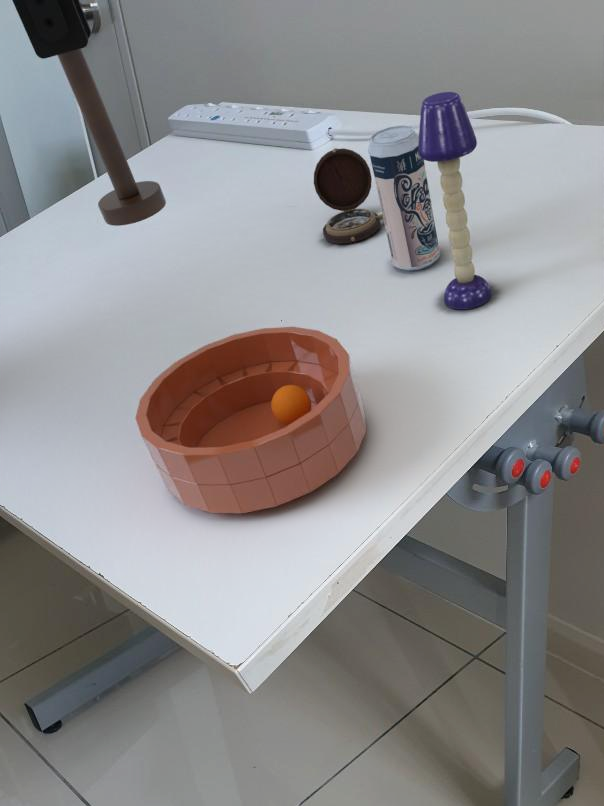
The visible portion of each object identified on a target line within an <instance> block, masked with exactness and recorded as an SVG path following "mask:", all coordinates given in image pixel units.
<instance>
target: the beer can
mask: <svg viewBox="0 0 604 806" xmlns="http://www.w3.org/2000/svg"><path fill="white" fill-rule="evenodd" d="M418 144H419V134H417V132H416V130H415V129H414V128H413V126H409V125H395V126H388V127H386V128H382V129H381V130H378V131H376V132H375V133H373V134H372V135H371V136H370V140H369V145H368V148H367V153H368V155H369V158H370V163H371V168H372V173H373V176H374V177H373V178H374V181H375V186H376V191H377V197H378V199H379V204H380V209H381V214H383V219H384V220H383V223H384V228H385V232H386V238H387V243H388V247H389V251H390V257H391V264H392V265H393V266H394V267H395V268H397V269H399V270H402V271H408V272H414V271H420V270H424V269H426V268H428V267H430V266H432V264H434V262H436V261H438V259H439V258H440V256H441V250H440V245H439V244H440V243H439V239H438V234H437V228H436V221H435V217H434V211H433V205H432V200H431V193H430V188H429V183H428V177H427V169H426V164H425V160H423V159H422V158H421V157H420V156H419V152H418Z"/></svg>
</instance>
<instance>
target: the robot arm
mask: <svg viewBox="0 0 604 806" xmlns="http://www.w3.org/2000/svg"><path fill="white" fill-rule="evenodd" d="M11 1H12V3H13V5H14V8H15V10H16V12H17V14H18V16H19V19H20V21H21V23H22V26H23V28H24V31H25V33H26V34H27V37H28V39H29V42H30V44H31V46H32V49H33V51H34V53H35V55H36V56H37V57H38V58H40V59H42V60H45V59H48V58H52V57H56V56H57V55H60V54H63V53H67V52H70V51H74V50H78V49H84V48H86V47H87V46H88V43H89V39H90V37H91V34H92V30H91V27H90V24H89V22H88V20H87V17H86V14H85V12H84V10H83V7H82V5H81V2H80V0H11Z"/></svg>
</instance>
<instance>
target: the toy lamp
mask: <svg viewBox="0 0 604 806" xmlns="http://www.w3.org/2000/svg"><path fill="white" fill-rule="evenodd" d="M419 120H420V121H419V130H418V136H419V144H418V152H419V156H420V157H421V158H422V159H423V160H424V161H427V162H431V163H434V162H435V163H437V168H438V170H439V172H440V179H439V181H440V188H441V189H442V191H443V195H442V196H443V197H442V202H443V203H442V204H443V207H444V209H445V210H446V212H445V222H446V223H445V224H446V225H447V228H448V229H449V230H448V240H449V241H448V242H449V243H450V245H451V259H452V262H453V263H454V269H453V272H454V276H455V277H454V278H453V279H452V280H450V281H449V283H448V284H447V286H446V288H445V290H444V296H443V301H444V304H445V306H446V307H448V308H450V309H453V310H470V309H475V308H478V307H479V306H482V305H484V304H485V303H488V301H489V300H490V299H491V297H492V295H493V292H492V289H491V286H490V284H489V282H488V281H487V279H485V278H483V277H482V276H480V275H478V274H475V273H476V269H475V265H474V263H473V261H472V260H473V249H472V246H471V244H470V241H471V233H470V232H471V231H470V230H469V228H468V226H467V225H468V213H467V211H466V209H465V203H466V199H465V193H464V191H463V190H462V188H463V176H462V173H461V172H460V167H461V159H460V158H462V157H465V156H468V155H470V154H471V153H473V152H474V151H475V149H476V148H477V145H478V141H477V136H476V134H475V130H474V129H473V126H472V123H471V120H470V117H469V115H468V113H467V109H466V106H465V105H464V102H463V100H462V98H461V96H460V94H458V92H454V91H442V92H437V93H434V94H431V95H428V96H427V97H425V98H424V99H422V102H421V106H420V119H419Z"/></svg>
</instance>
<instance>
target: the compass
mask: <svg viewBox="0 0 604 806" xmlns="http://www.w3.org/2000/svg"><path fill="white" fill-rule="evenodd" d="M372 179H373V178H372V173H371V169H370V166H369V165H368V163H367V160H365V159H364V157H362V155H361V154H359V153H358V152H356V151H354V150H353V149H348V148H337V147H335V148H333V149H331V150H330V151H327V152H326V153H325V154H323V156H321V157H320V159H319V160H318V162H317V163H316V165H315V169H314V172H313V186H314V190H315V193H316V195H317V196H318V198H319V200H320V201H322V203H323V204H324V205H325V206H327V207H329V208H331V209H333V210H336V211H340V212H337V213H336V214H335V215H334V216H331V218H330V219H328V220H327V223H326V224H325V225H324V226H323V228H322V234H323V237H324V238H325V240H326V241H328V242H330V243H332V244H351V243H356V242H359V241H363V240H365V239H367V238H369V237H371V236H372V235H374V234H375V233H376V232H377V231H378V230H379V229H380V227H381V225H382V224H381V221H382V220H383V221H384V219H383V214H382V213H380V214H378V213H376V212H374V211H372V210H369V209H367V208H359V207H360V206H361V205H362V204H363V203H364V202H365V201H366V200H367V198H368V197H369V195H370V192H371V189H372Z"/></svg>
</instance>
